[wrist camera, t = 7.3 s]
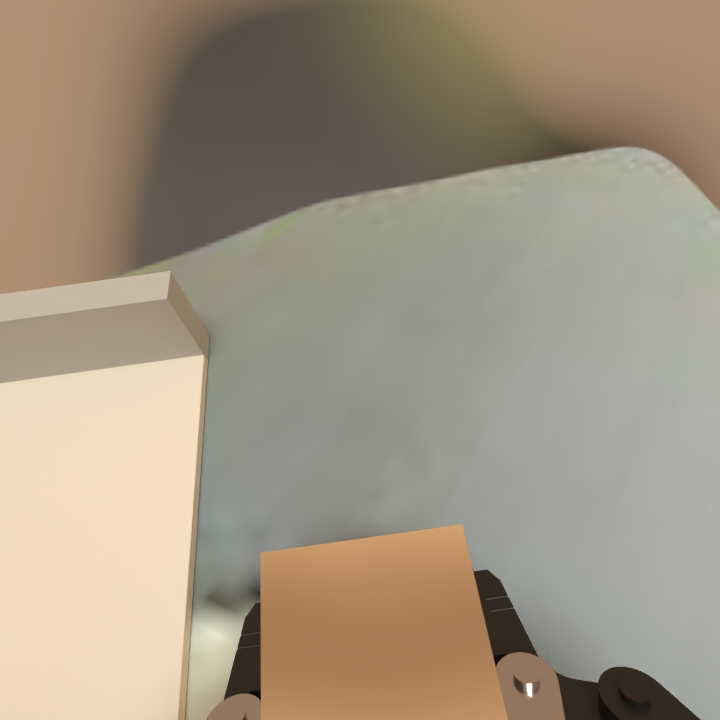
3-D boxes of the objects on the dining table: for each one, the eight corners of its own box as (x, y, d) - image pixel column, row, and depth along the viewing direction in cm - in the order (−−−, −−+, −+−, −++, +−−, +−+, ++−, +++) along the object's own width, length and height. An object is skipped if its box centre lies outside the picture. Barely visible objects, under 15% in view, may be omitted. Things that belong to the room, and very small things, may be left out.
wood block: (470, 750, 15) (555, 868, 7) (329, 771, 15) (261, 913, 7) (436, 575, 17) (471, 523, 10) (318, 592, 17) (260, 552, 10)
